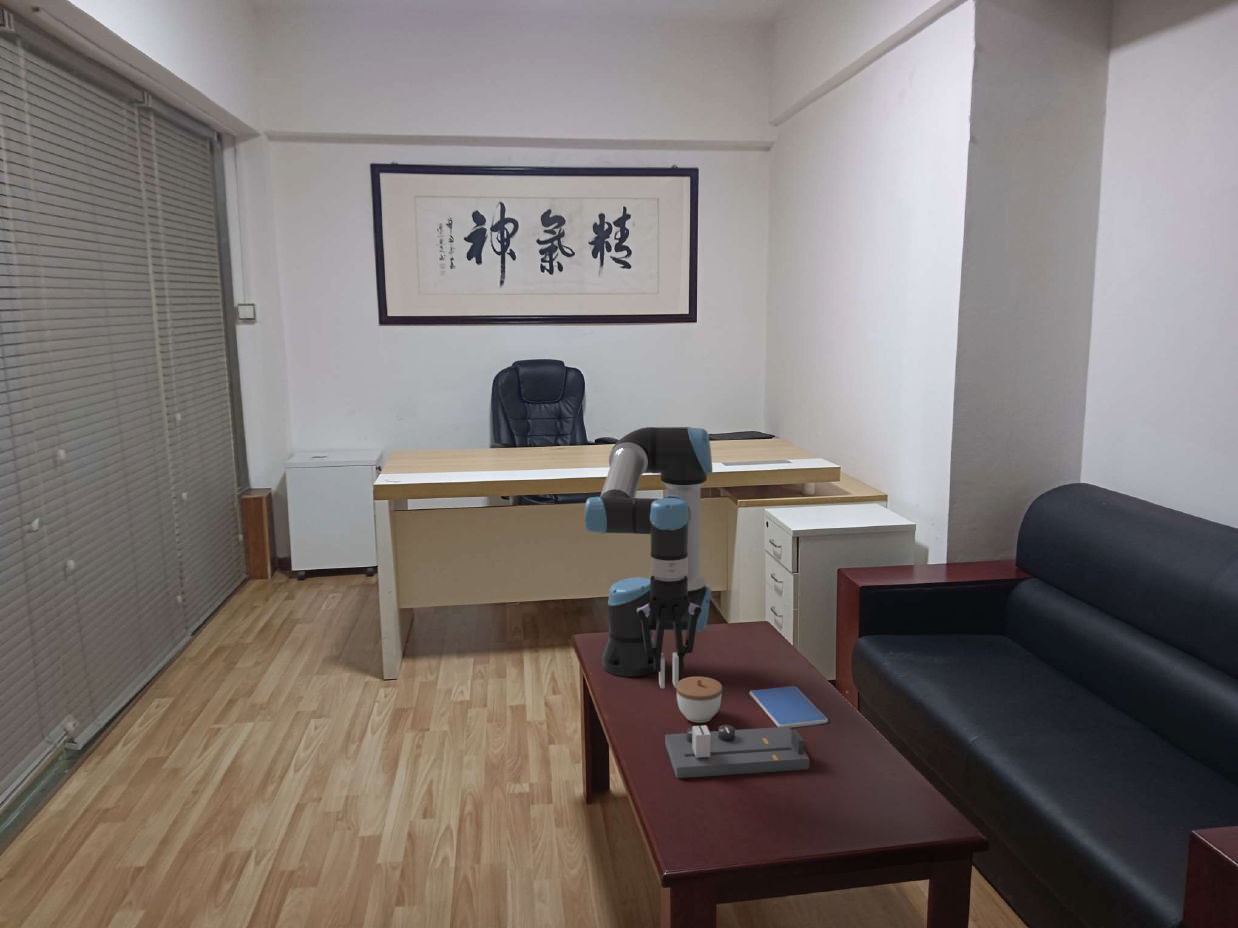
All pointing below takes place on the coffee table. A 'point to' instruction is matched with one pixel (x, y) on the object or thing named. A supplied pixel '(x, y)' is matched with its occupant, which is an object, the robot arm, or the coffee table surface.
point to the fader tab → (701, 741)
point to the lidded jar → (699, 698)
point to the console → (738, 752)
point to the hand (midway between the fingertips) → (668, 684)
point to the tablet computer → (788, 707)
